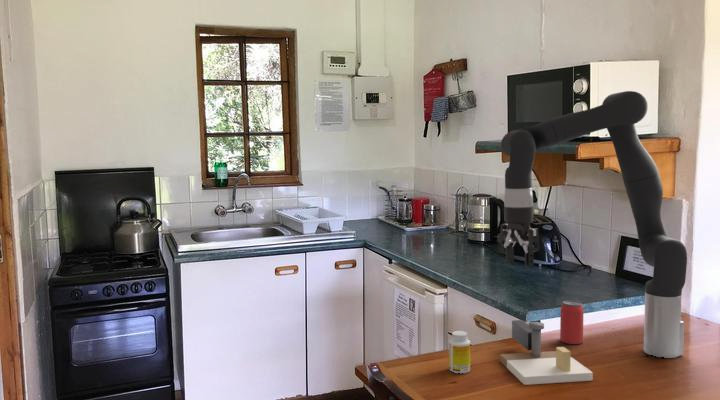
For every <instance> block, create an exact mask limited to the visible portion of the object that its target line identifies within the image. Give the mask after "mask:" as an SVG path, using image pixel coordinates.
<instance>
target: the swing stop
mask: <svg viewBox="0 0 720 400" xmlns="http://www.w3.org/2000/svg"><path fill="white" fill-rule="evenodd" d="M511 338H512V339H514V340H515V341H516V342H517V343H518V344H519V345H521V346H522V347H523V348H524V349H525V350H527V351H532V329H531V328H529V323H527V322H525V321H524V320H522V319H517V320H516V319H515V320H514V319H513V320H512V321H511Z"/></svg>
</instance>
